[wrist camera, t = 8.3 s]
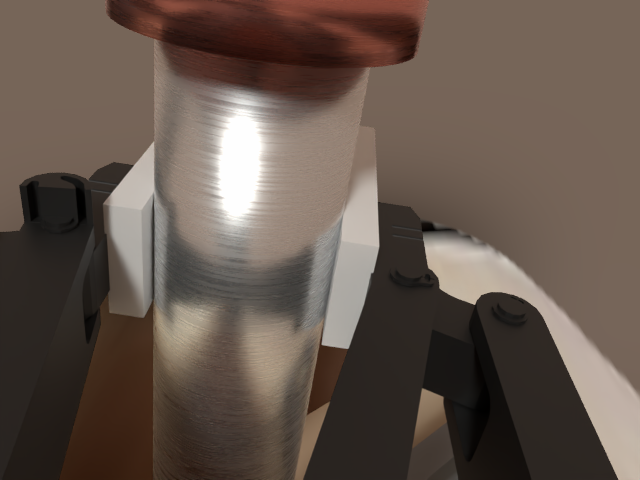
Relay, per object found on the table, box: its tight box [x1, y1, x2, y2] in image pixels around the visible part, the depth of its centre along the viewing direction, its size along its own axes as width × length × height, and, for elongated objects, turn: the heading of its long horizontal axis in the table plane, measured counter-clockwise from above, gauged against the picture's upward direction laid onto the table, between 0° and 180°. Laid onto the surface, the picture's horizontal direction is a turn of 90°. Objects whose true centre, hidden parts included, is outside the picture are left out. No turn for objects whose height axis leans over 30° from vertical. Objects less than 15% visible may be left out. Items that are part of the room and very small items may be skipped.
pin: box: [105, 0, 429, 480], centre depth 14 cm, size 6×6×14 cm
